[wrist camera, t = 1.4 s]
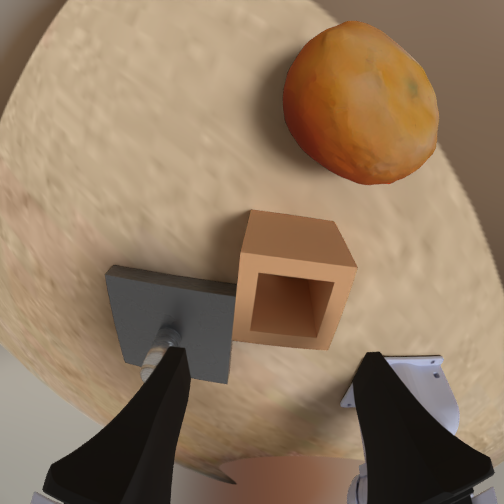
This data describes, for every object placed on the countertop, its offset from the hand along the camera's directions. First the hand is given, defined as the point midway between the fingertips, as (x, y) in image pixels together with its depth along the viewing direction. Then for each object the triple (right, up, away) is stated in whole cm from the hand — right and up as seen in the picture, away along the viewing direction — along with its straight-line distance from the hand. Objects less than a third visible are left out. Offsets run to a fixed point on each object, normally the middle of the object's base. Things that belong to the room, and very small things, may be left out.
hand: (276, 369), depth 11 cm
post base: (-7, -1, +12) cm, 14 cm away
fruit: (+5, +13, +4) cm, 15 cm away
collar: (+1, +5, +9) cm, 10 cm away
